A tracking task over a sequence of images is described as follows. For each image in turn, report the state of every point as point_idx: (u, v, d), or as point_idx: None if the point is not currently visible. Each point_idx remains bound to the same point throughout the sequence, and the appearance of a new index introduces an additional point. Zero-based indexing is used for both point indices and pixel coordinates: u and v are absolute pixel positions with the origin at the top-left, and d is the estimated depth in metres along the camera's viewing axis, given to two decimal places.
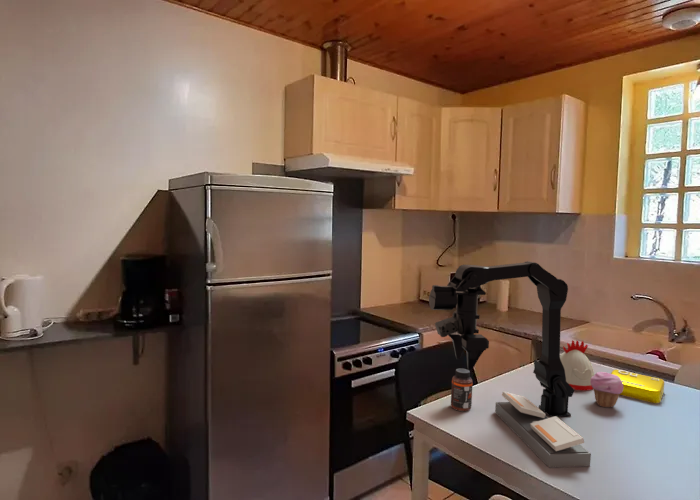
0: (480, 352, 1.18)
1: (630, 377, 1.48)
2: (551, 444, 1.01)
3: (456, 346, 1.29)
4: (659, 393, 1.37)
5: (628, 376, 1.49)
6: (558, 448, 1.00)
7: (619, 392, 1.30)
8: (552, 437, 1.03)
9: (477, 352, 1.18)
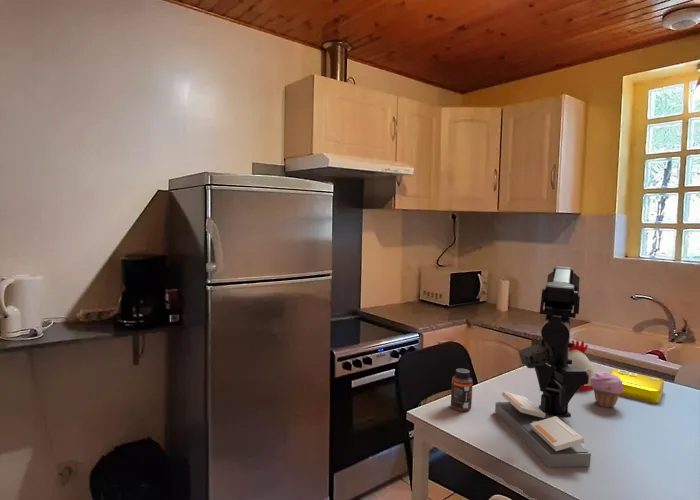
0: (576, 387, 1.01)
1: (629, 377, 1.48)
2: (551, 444, 1.01)
3: (541, 377, 1.12)
4: (658, 393, 1.37)
5: (627, 376, 1.49)
6: (558, 448, 1.00)
7: (619, 392, 1.30)
8: (552, 437, 1.03)
9: (573, 387, 1.01)
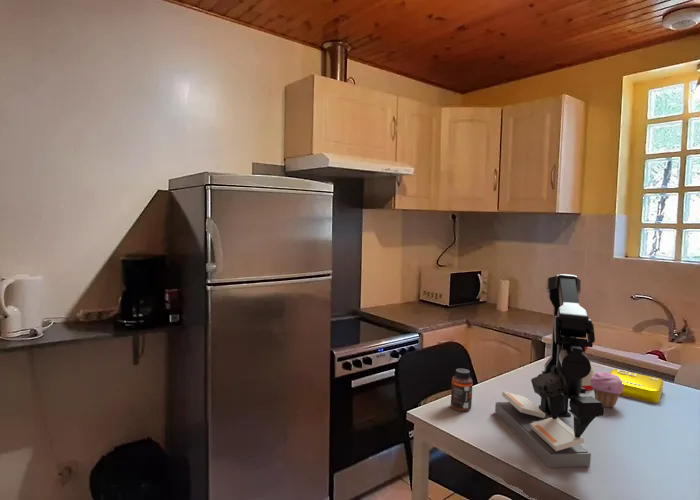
0: (591, 418, 0.99)
1: (629, 377, 1.48)
2: (551, 444, 1.01)
3: (552, 404, 1.10)
4: (658, 393, 1.37)
5: (627, 376, 1.49)
6: (558, 448, 1.00)
7: (619, 392, 1.30)
8: (552, 437, 1.03)
9: (588, 418, 0.99)
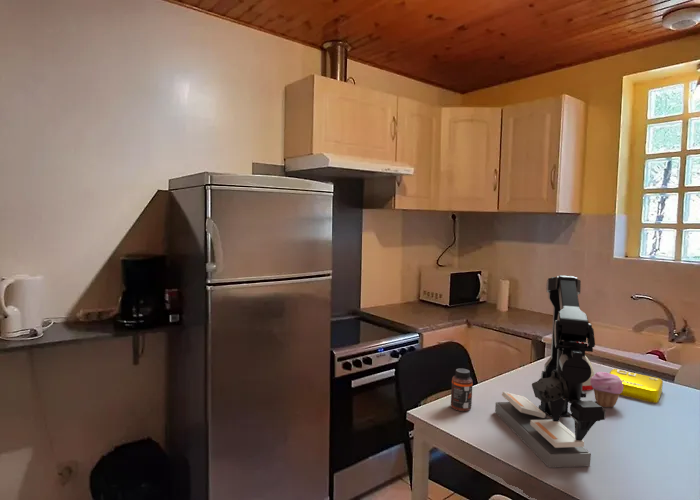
0: (592, 422, 0.99)
1: (628, 377, 1.48)
2: (551, 440, 1.01)
3: (553, 408, 1.10)
4: (657, 393, 1.37)
5: (627, 376, 1.49)
6: (558, 445, 1.00)
7: (619, 392, 1.30)
8: (553, 435, 1.03)
9: (588, 422, 0.99)
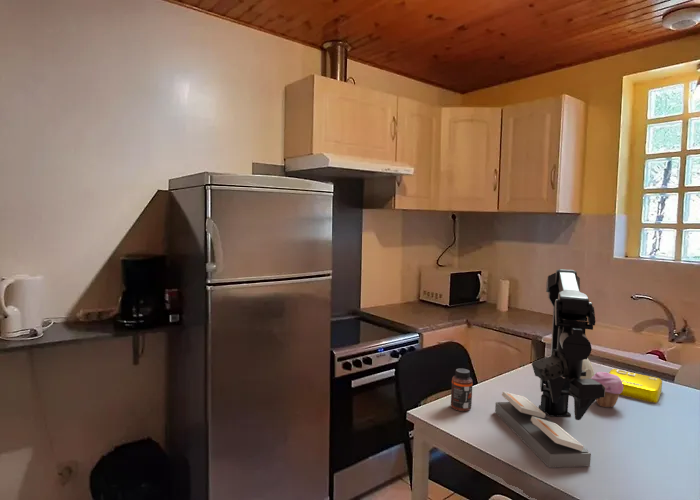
0: (592, 400, 0.99)
1: (628, 376, 1.48)
2: (552, 436, 1.01)
3: (553, 388, 1.10)
4: (657, 392, 1.37)
5: (626, 375, 1.49)
6: (558, 441, 1.00)
7: (619, 392, 1.30)
8: (554, 432, 1.03)
9: (588, 400, 1.00)
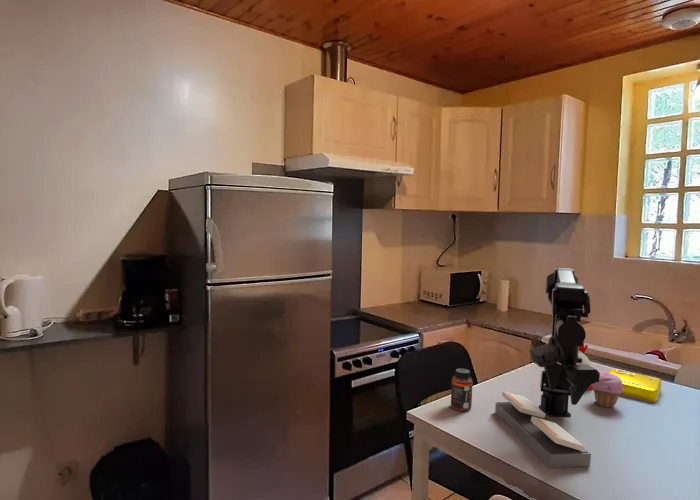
0: (587, 385, 1.03)
1: (627, 376, 1.49)
2: (552, 436, 1.01)
3: (550, 375, 1.14)
4: (656, 392, 1.38)
5: (625, 375, 1.50)
6: (558, 441, 1.00)
7: (619, 392, 1.30)
8: (554, 432, 1.03)
9: (584, 385, 1.03)
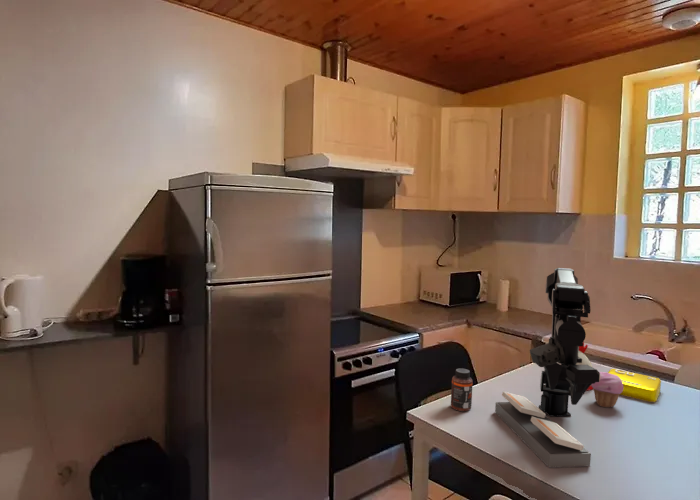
0: (587, 385, 1.03)
1: (627, 376, 1.49)
2: (552, 436, 1.01)
3: (550, 375, 1.14)
4: (655, 392, 1.38)
5: (625, 375, 1.50)
6: (558, 442, 1.00)
7: (619, 392, 1.30)
8: (554, 432, 1.03)
9: (584, 385, 1.03)
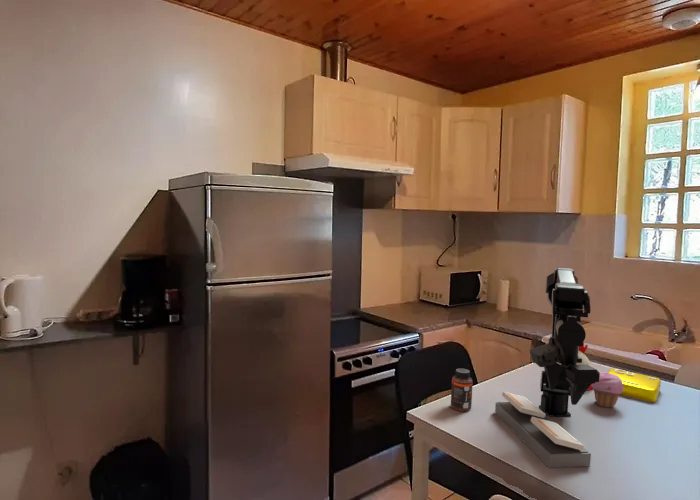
0: (587, 385, 1.03)
1: (626, 376, 1.49)
2: (552, 436, 1.01)
3: (550, 375, 1.14)
4: (655, 392, 1.38)
5: (625, 375, 1.50)
6: (558, 442, 1.00)
7: (619, 392, 1.30)
8: (554, 432, 1.03)
9: (584, 385, 1.03)
